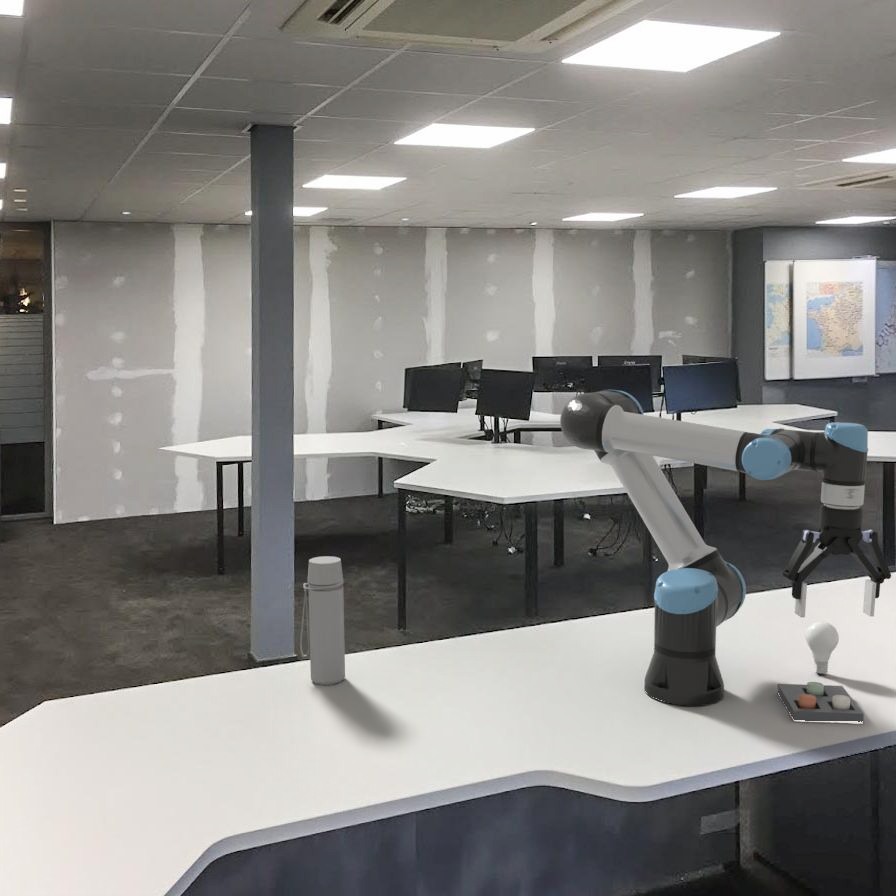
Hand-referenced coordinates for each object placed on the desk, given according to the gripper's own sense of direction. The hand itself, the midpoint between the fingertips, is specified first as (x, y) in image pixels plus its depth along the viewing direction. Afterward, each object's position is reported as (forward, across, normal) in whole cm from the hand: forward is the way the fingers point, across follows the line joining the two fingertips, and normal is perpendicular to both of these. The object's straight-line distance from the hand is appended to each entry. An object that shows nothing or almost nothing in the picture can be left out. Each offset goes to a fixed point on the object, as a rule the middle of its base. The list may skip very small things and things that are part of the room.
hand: (834, 615), depth 189 cm
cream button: (+15, -3, -10) cm, 18 cm away
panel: (+16, -5, -6) cm, 18 cm away
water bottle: (+19, -97, +20) cm, 101 cm away
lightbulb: (+16, +4, +12) cm, 21 cm away
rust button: (+15, -8, -8) cm, 19 cm away
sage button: (+15, -4, -3) cm, 16 cm away
